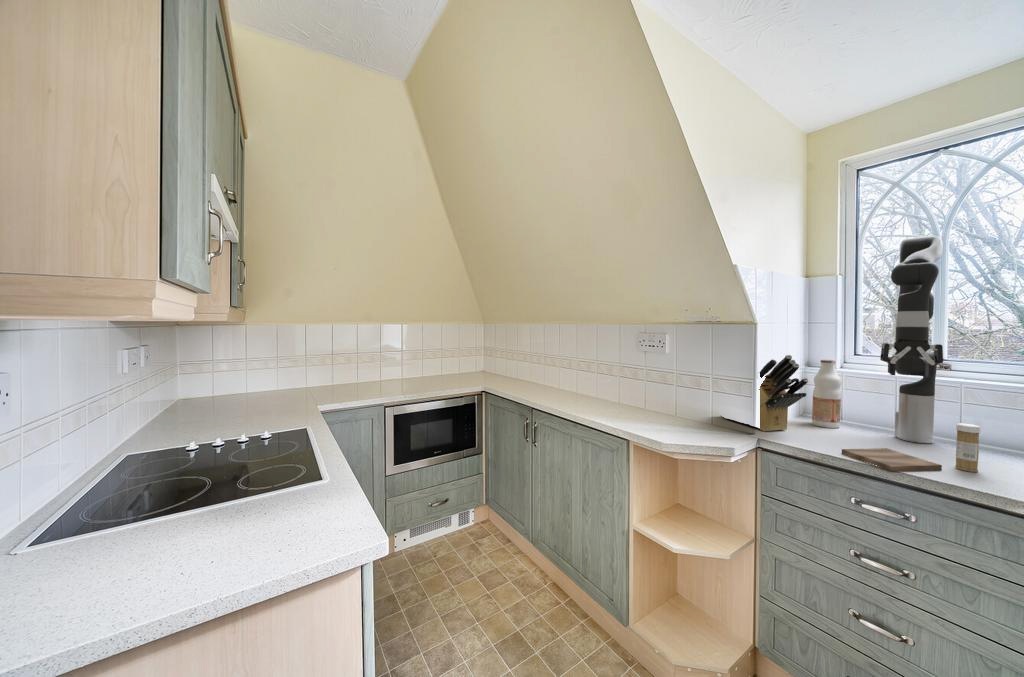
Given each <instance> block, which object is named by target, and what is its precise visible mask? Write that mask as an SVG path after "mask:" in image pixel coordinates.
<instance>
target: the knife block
mask: <svg viewBox="0 0 1024 677" xmlns="http://www.w3.org/2000/svg"><path fill="white" fill-rule="evenodd" d="M799 368H800V365H799V363H797V361H796V360H795V359H793V356H792V355H791V354H788V355H785V357H784V358H783V359H781V360H780V361H779V362H777V361H776V360H775V359H771V360H769V361H768V362H767V363H765V365H764V366H763V367H762V368H761V370H760V371H759V373H760V377H761V378H762V377H763V376H764V375H766V376H765V377H766V378H765V380H764V381H763V383H762V384H761V386H760V389H759V390H760V430H759V431H761V432H765V433H766V432H771V431H785V430H788V429H787V428H788V417H789V416H788V415H789V414H788V410H789V408H788V407H791V406H792V405H794V404H795V403H797V402H798V401H800V400H802V398H805V397H807V393H806V392H798V391H800V389H802V388H803V387H805V385H807V383H808V382H809V379H808V378H806V377H805V378H802V379H801V380H799V378H796V377H795V378H792V379H791V378H790V377H792V376H793V375H794V374H795V373H796V372H797V371H798V369H799ZM786 390H787V391H786Z"/></svg>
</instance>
